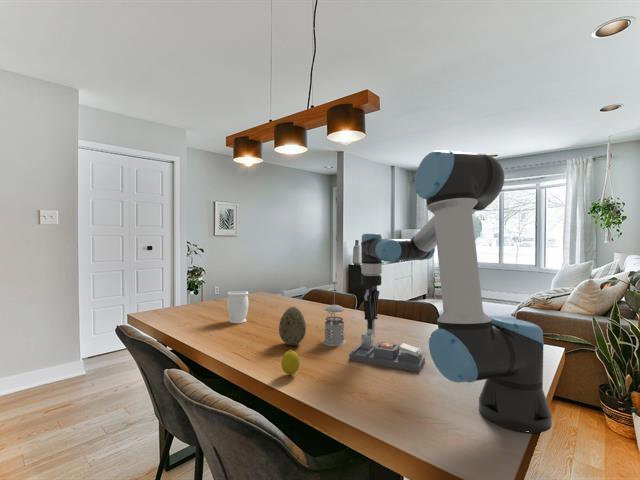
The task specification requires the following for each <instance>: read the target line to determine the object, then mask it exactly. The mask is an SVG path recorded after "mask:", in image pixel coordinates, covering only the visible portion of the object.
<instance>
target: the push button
mask: <svg viewBox="0 0 640 480" xmlns="http://www.w3.org/2000/svg"><path fill="white" fill-rule="evenodd" d="M390 343H391V342H386V343H381V344H380V348H385V349H391V350H392V349H393V344H394V343H393V344H390Z"/></svg>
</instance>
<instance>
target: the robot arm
mask: <svg viewBox="0 0 640 480" xmlns="http://www.w3.org/2000/svg"><path fill="white" fill-rule="evenodd" d="M504 184H505V171H504V169H503V167H502V165H501V163H500V162H499V161H498V160H497V159H496V158H495V157H493V156H491V155H489V154H485V153H474V152H463V151H454V150H450V149H448V150H447V149H446V150H433V151H431V152H429V153H428V154H427V155H425V156H424V158H423V159H421V161H420V163H419V165H418V167H417V169H416V173H415V178H414V189H415V193H416V194H417V196H418V197H420V198H421V199H423V200H426V208H427V210H428V211H429V212H431V213H432V214H433V216H432V217H431V218H430V219H429V220H428V221H427V222H426V224H425V225H423V227H422V228H420V229H419V231H418V232H417V233H416V234H415V235H413V236H412V238H382V237H383V236H382V235H381V234H380V233H363V234H362V235H361V242H360V246H361V251H360V252H361V253H360V254H361V255H360V256H361V259H360V260H361V265H360V266H359V267H360V268H361V269H360V270H361V280H360V281H361V285H362V286H365V290H364V294H363V295H361V296H362V301H363V311H364V320H365V321H366V333H372V334H374V339H375V338H376V320H378V319H379V317H378V310H379V309H378V308H379V297H380V290H378V287H379V286H381V285H382V275H381V274H382V270H383V268H382V261H383V262H394V261H395V262H396V261H424V260H430V259H432V258H433V257H434V254H435V251H436V248H437V262H438V270H439V279H440V280H439V282H440V290H441V300H442V314H441V315H440V316H439V317H438V318H436V319H437V320H436V321H437V329H435V330H433V331H432V332H431V334H430V337H429V339H428V349H429V353H430V357H431V359H432V362H433V363H434V366H435V367H436V368H437V370H438V371H439V373H440V374H441V376H443V377H444V378H446V379H447V380H449V381H450V382H453V383H458V384H459V383H469V384H470V383H474V382H477V381H482V380H484V381H485V382H484V385H483V387H482V389H481V392H480V395H479V397H478V410H479V412H480V413H481V414H482V415H483V416H484V418H486V419H487V420H489V421H491V422H493V424H496V425H498V426H501V427H503V428H506V429H509V430H512V431H516V430H517V432H520V431H523V432H522V433H525V432H524V431H529V432H532V433H531V434H537V433H544V432H547V431H549V430H550V429H551V428H552V424H553V423H552V420H553V417H552V412H551V409H550V406H549V403H548V399H547V398H546V395H545V392H544V390H543V388H544V387H543V386H544V385H543V384H544V381H543V380H544V345H545V342H544V331H543V329H542V328H541V327H540V326H539V325H537V324H535V323H532V322H530V321H527V320H526V321H525V320H522V319H517V318H512V317H506V316H497V315H490V316H488V315H487V314H486V313H485V312H484V308H483V298H482V290H481V279H480V273H479V262H478V254H477V245H476V244H477V243H476V236H475V228H474V220H473V214H474V213H476V212H480V211H483V210H485V209H486V208H487V207H489V205H491V204H492V203H493V202H494V201H495V200H496V199H497V198H498V196H499V195H500V193H501V191H502V190H503V187H504Z"/></svg>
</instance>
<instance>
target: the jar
mask: <svg viewBox="0 0 640 480" xmlns="http://www.w3.org/2000/svg"><path fill="white" fill-rule="evenodd" d="M248 295H249V291H247V290H230V291H228V292H227V296H228V297H227V304H226V307H227V311H228V316H229V318H230V319H229V323H230V324H244V323H246V322H247V315H248V311H249V296H248Z"/></svg>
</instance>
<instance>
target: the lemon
mask: <svg viewBox="0 0 640 480" xmlns="http://www.w3.org/2000/svg"><path fill="white" fill-rule="evenodd" d="M281 368H282V369H281V370H282V371H283V372H284V373H285V374H286V375H289V376H290V377H291V376H292V375H294V374H295V373H297V372H298V370H299V368H300V358H299V354H298V353H297V352H296V351H294V350H292V349H289V350H287V351H286V352H285V353H284V354H283V355H282V358H281Z"/></svg>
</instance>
